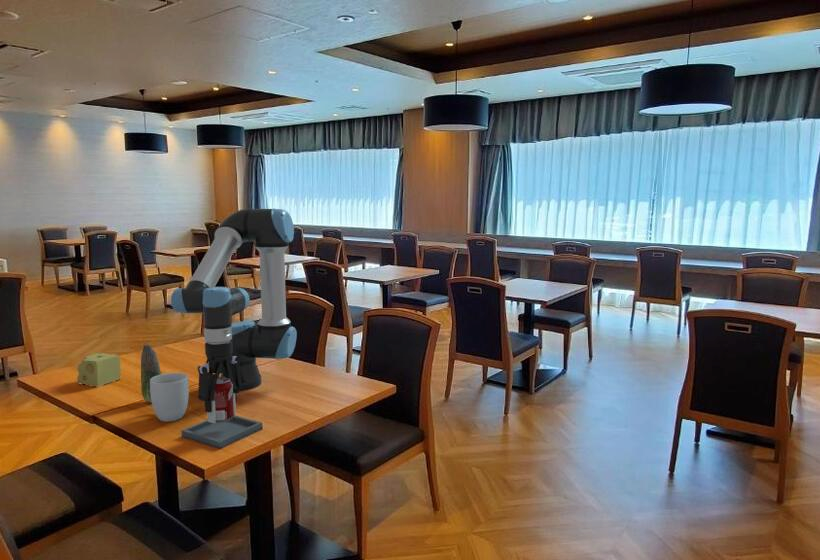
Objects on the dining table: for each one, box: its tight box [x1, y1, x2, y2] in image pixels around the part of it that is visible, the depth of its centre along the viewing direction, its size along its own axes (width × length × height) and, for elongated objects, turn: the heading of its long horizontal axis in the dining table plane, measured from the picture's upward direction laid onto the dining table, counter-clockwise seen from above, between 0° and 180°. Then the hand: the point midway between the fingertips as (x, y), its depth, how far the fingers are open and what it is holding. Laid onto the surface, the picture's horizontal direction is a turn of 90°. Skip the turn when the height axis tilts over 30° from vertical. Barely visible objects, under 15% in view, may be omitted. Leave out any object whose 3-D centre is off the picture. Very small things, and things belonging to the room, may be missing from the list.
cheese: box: [76, 352, 122, 388], centre depth 210 cm, size 10×11×10 cm
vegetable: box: [140, 344, 162, 404], centre depth 190 cm, size 6×6×20 cm
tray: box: [180, 414, 263, 450], centre depth 165 cm, size 16×16×2 cm
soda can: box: [213, 376, 234, 422], centre depth 164 cm, size 7×7×12 cm
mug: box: [150, 372, 190, 423], centre depth 177 cm, size 15×11×13 cm
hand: (221, 417), depth 165 cm, fingers closed on soda can, 7 cm apart
